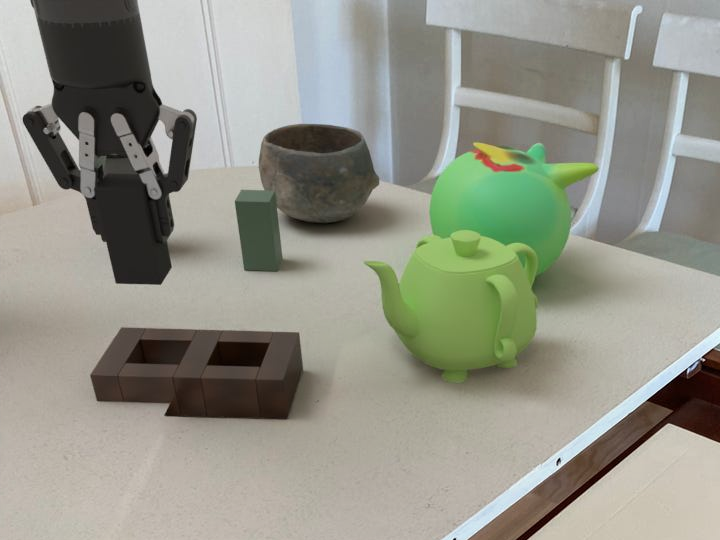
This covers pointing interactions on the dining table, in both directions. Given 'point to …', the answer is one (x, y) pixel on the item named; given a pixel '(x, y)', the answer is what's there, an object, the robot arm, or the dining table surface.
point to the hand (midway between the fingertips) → (136, 238)
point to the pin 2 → (259, 230)
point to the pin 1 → (130, 231)
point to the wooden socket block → (202, 371)
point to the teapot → (462, 302)
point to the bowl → (317, 171)
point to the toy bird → (508, 198)
